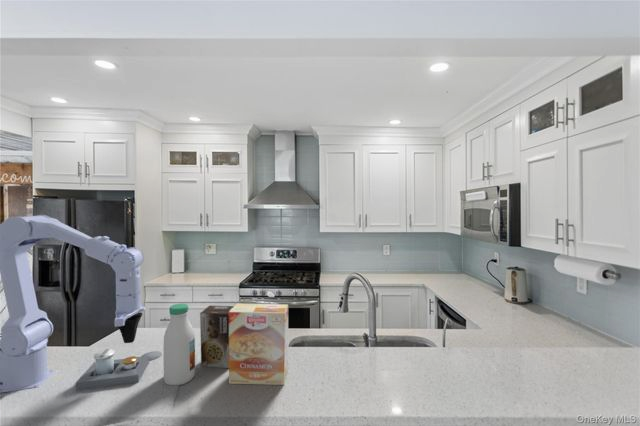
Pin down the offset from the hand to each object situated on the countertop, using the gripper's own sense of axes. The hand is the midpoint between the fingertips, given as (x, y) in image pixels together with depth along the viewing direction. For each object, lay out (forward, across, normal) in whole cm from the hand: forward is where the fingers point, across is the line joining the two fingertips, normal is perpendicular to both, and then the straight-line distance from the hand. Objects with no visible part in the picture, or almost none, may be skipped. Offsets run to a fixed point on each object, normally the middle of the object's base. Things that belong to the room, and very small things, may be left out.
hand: (129, 341), depth 83 cm
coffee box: (+10, +1, -24) cm, 25 cm away
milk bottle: (+10, -5, -14) cm, 17 cm away
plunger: (+9, 0, 0) cm, 9 cm away
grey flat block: (+9, 0, +4) cm, 10 cm away
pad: (+9, +9, -3) cm, 13 cm away
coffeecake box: (+10, -10, -34) cm, 37 cm away
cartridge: (+9, 0, +6) cm, 11 cm away
